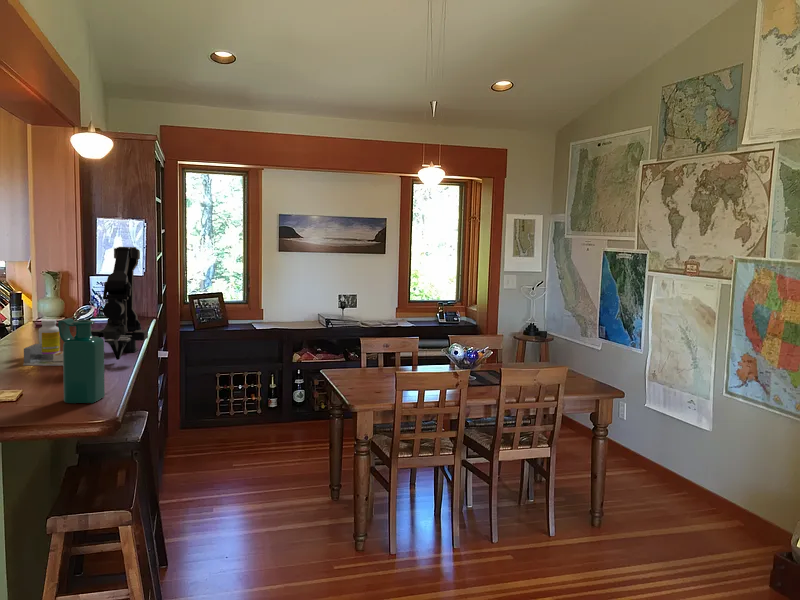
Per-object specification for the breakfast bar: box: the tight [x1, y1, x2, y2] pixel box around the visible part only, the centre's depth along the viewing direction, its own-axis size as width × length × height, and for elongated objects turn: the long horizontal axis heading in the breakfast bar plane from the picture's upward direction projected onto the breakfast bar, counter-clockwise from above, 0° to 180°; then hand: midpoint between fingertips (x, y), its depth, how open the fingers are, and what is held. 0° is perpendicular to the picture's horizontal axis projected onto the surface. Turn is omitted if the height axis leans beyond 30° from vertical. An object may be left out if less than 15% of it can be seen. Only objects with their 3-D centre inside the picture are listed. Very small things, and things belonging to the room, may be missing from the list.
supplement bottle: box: [38, 319, 61, 354], centre depth 223 cm, size 7×7×13 cm
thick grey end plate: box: [53, 351, 63, 361], centre depth 212 cm, size 8×13×3 cm, turn 98°
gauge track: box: [22, 343, 63, 367], centre depth 212 cm, size 10×14×6 cm
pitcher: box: [57, 317, 106, 404], centre depth 168 cm, size 10×8×22 cm
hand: (118, 359), depth 215 cm, fingers closed
